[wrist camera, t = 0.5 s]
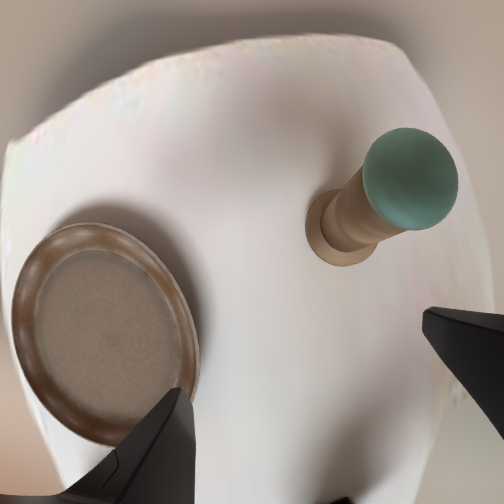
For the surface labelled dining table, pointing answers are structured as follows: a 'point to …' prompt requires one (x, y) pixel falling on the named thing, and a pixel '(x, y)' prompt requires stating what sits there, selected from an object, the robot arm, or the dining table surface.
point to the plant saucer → (101, 330)
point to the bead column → (384, 197)
